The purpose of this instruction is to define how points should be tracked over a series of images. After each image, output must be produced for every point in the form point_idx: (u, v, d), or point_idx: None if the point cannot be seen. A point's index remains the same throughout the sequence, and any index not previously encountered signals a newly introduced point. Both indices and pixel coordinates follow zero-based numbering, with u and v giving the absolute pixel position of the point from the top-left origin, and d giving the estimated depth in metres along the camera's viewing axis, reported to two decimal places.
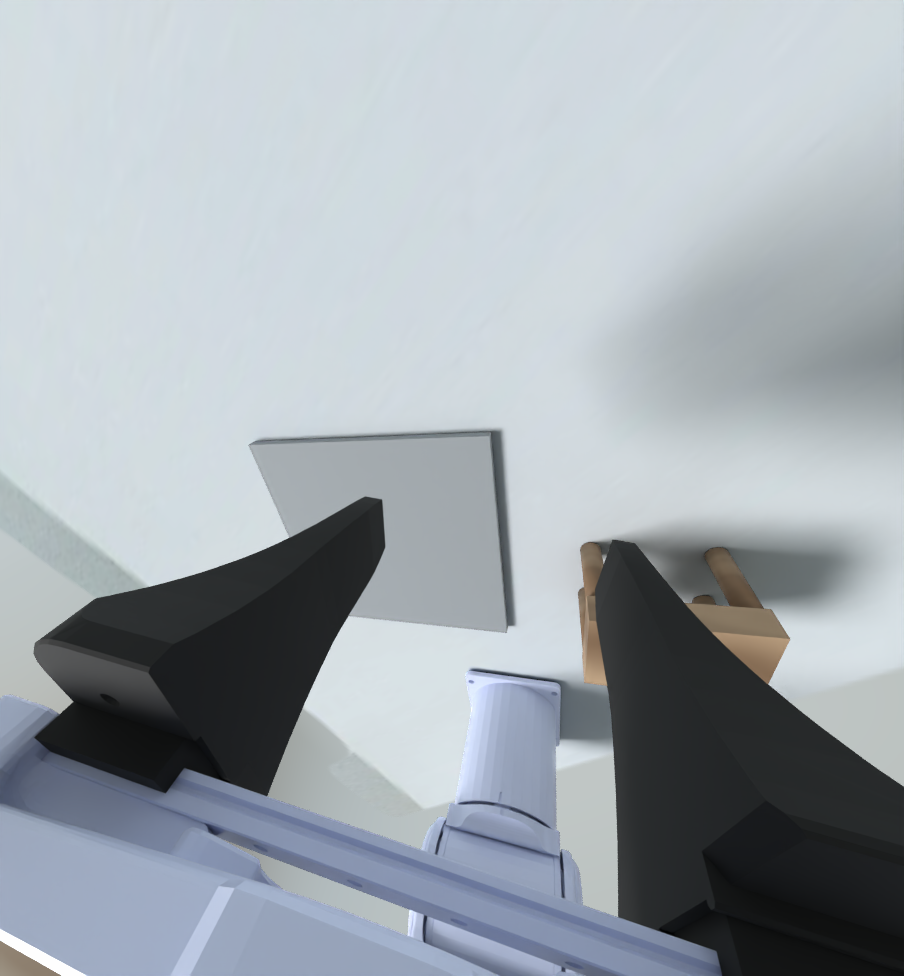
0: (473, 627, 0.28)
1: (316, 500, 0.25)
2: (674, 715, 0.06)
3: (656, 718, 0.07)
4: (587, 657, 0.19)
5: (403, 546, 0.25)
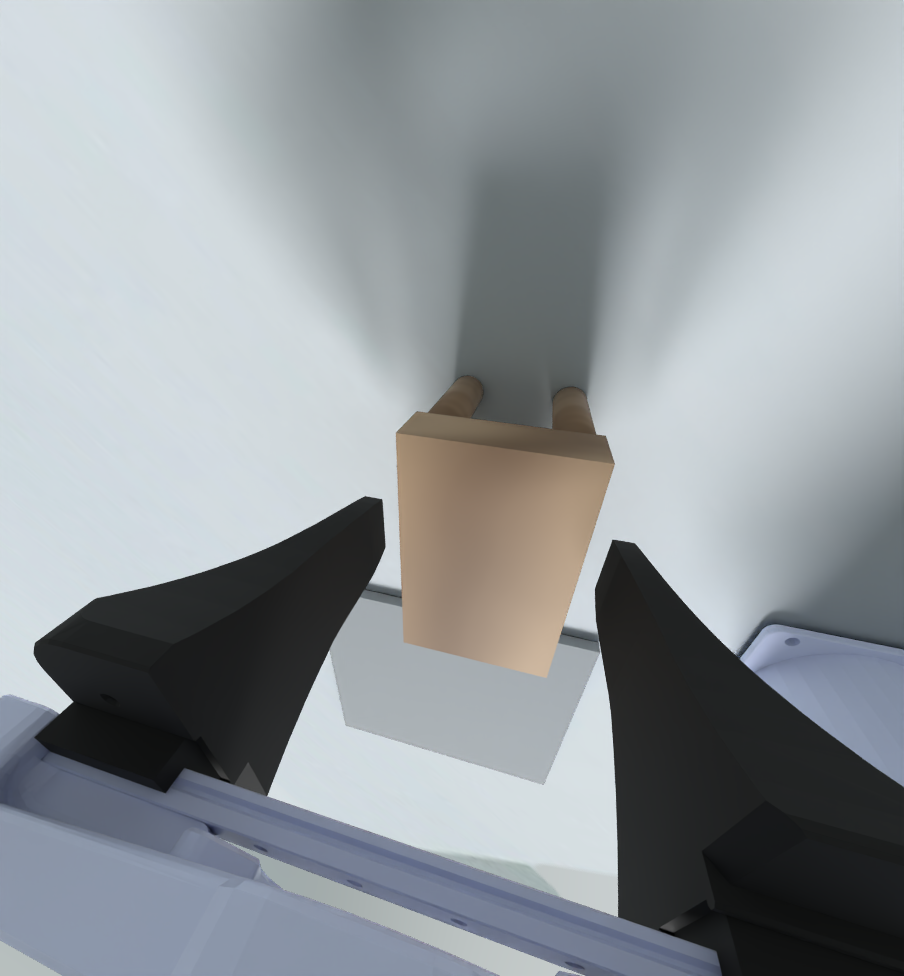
0: (583, 680, 0.20)
1: (393, 716, 0.27)
2: (674, 715, 0.06)
3: (656, 718, 0.07)
4: (481, 660, 0.12)
5: (444, 686, 0.23)
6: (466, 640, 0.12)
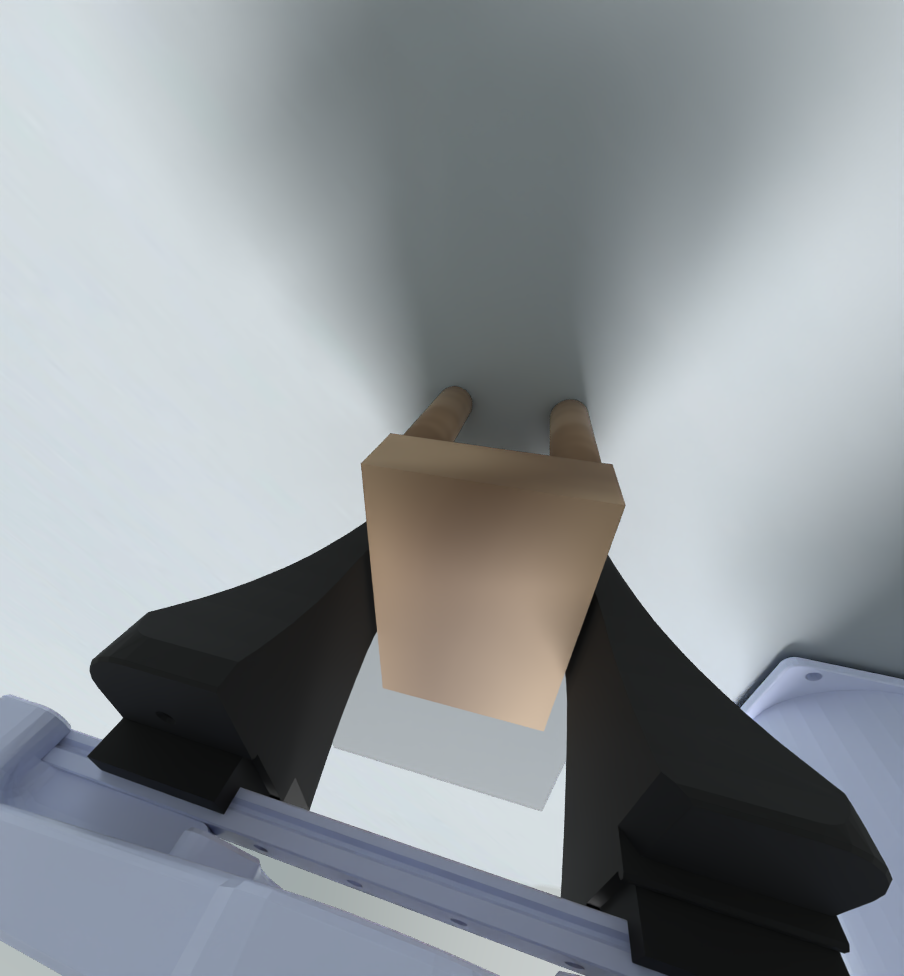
0: None
1: (382, 740, 0.26)
2: (607, 699, 0.06)
3: (596, 703, 0.07)
4: (470, 710, 0.11)
5: (435, 712, 0.22)
6: (453, 689, 0.11)
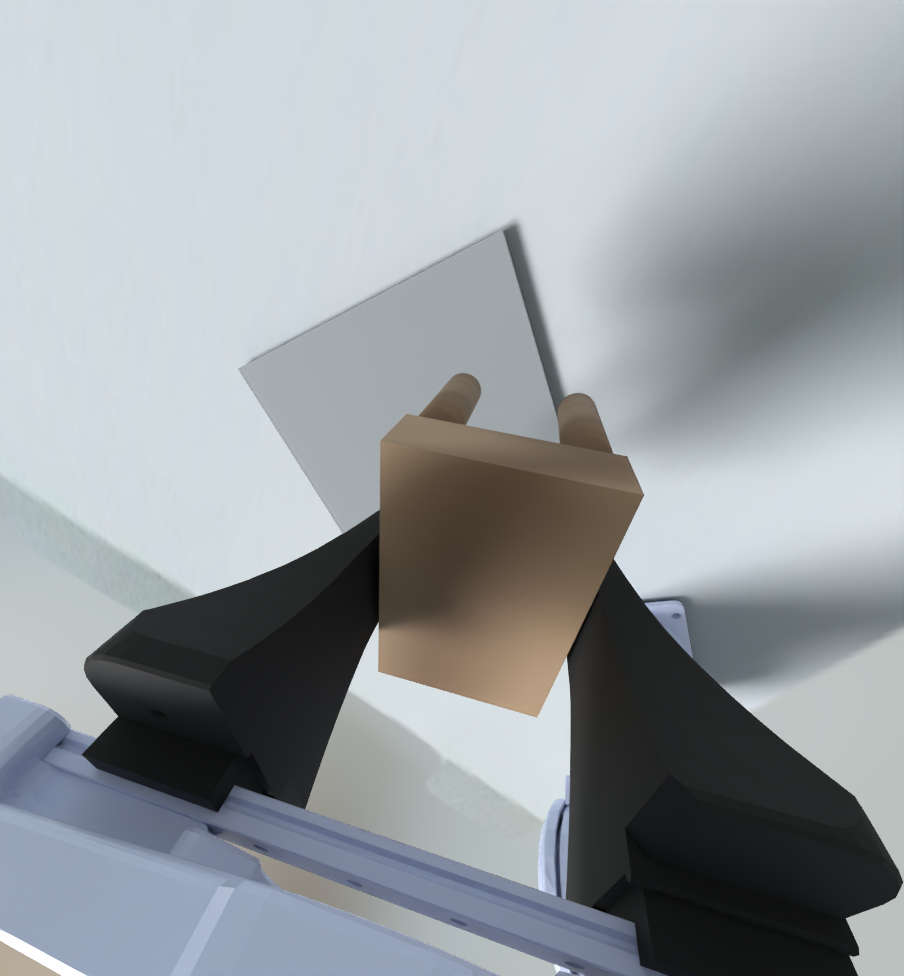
0: None
1: (324, 417, 0.21)
2: (613, 700, 0.06)
3: (601, 704, 0.07)
4: (465, 695, 0.11)
5: None
6: (450, 673, 0.11)
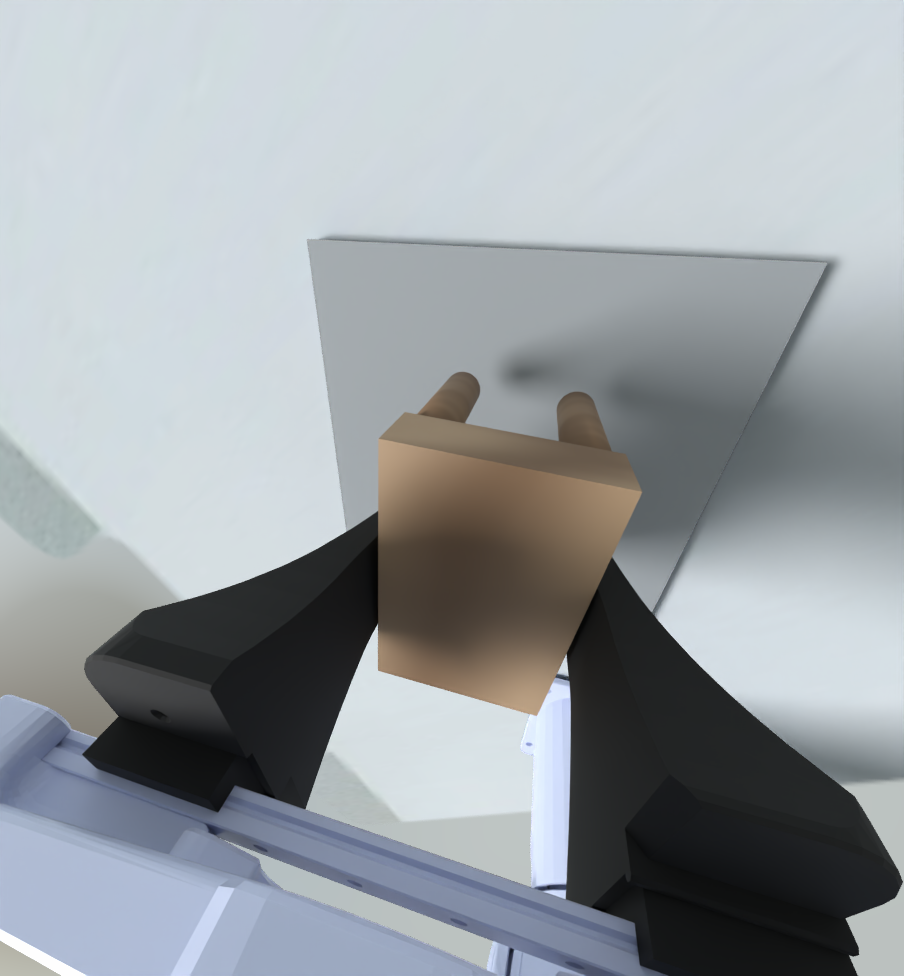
0: None
1: (406, 372, 0.14)
2: (613, 700, 0.06)
3: (600, 704, 0.07)
4: (465, 694, 0.11)
5: None
6: (449, 672, 0.11)
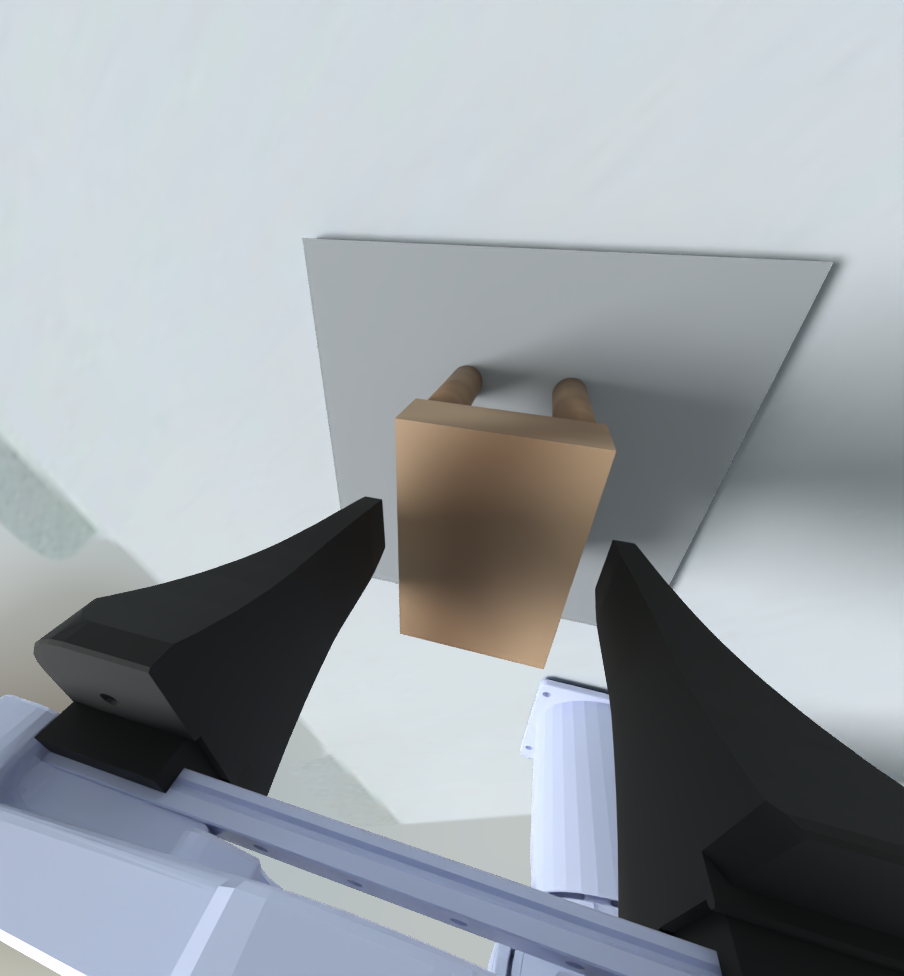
0: (591, 621, 0.19)
1: (404, 374, 0.14)
2: (674, 715, 0.06)
3: (656, 718, 0.07)
4: (478, 652, 0.12)
5: None
6: (464, 631, 0.12)
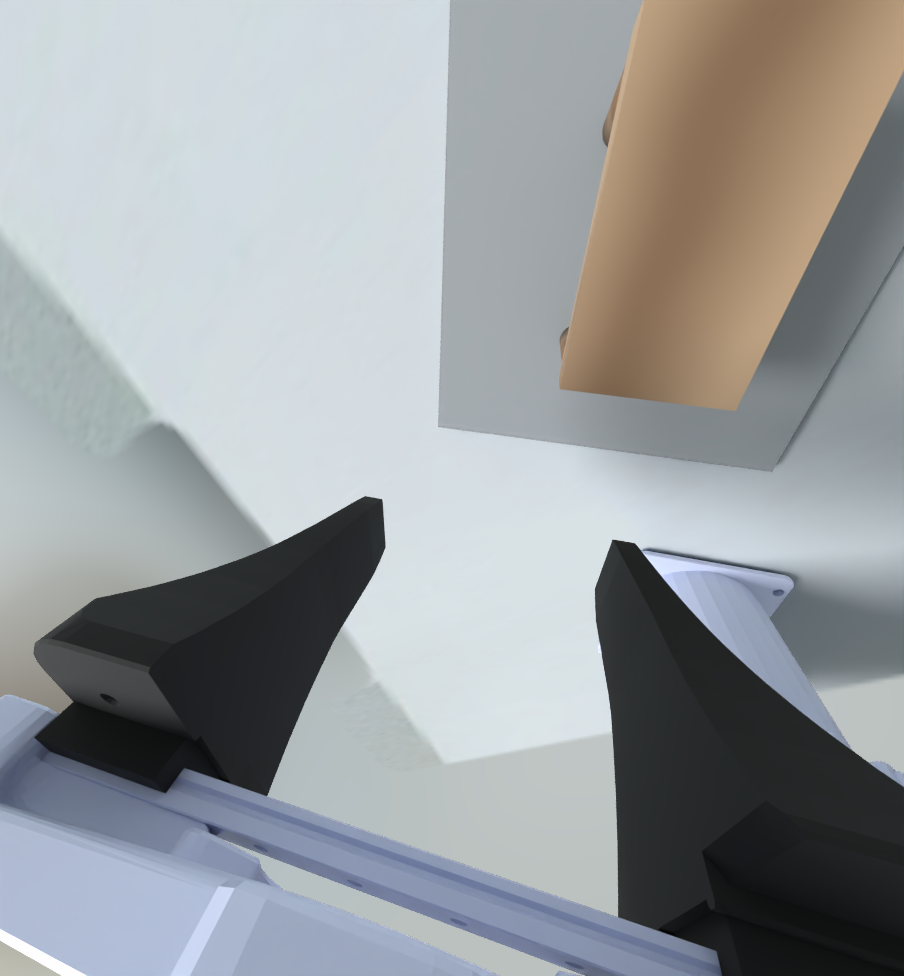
0: (713, 459, 0.17)
1: (546, 127, 0.13)
2: (674, 715, 0.06)
3: (656, 718, 0.07)
4: (655, 399, 0.11)
5: None
6: (645, 366, 0.10)
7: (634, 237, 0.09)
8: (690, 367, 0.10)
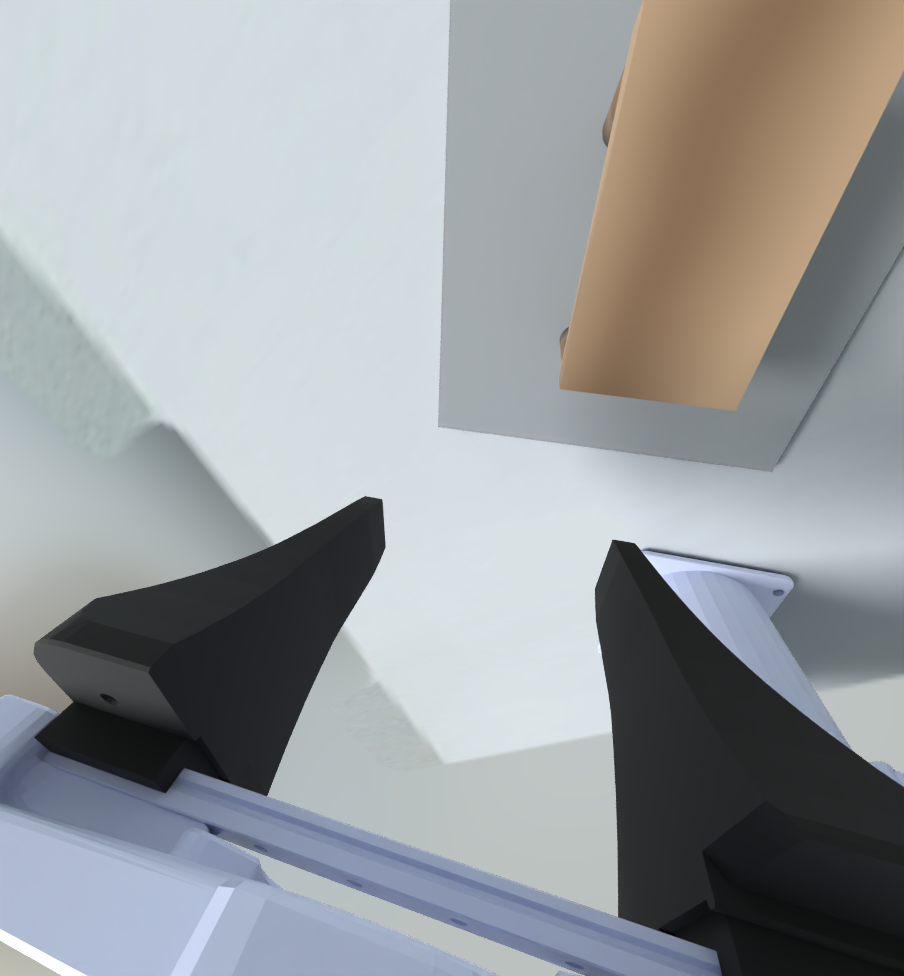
0: (713, 459, 0.17)
1: (546, 127, 0.13)
2: (674, 715, 0.06)
3: (656, 718, 0.07)
4: (655, 399, 0.11)
5: None
6: (645, 366, 0.10)
7: (634, 237, 0.09)
8: (690, 367, 0.10)
